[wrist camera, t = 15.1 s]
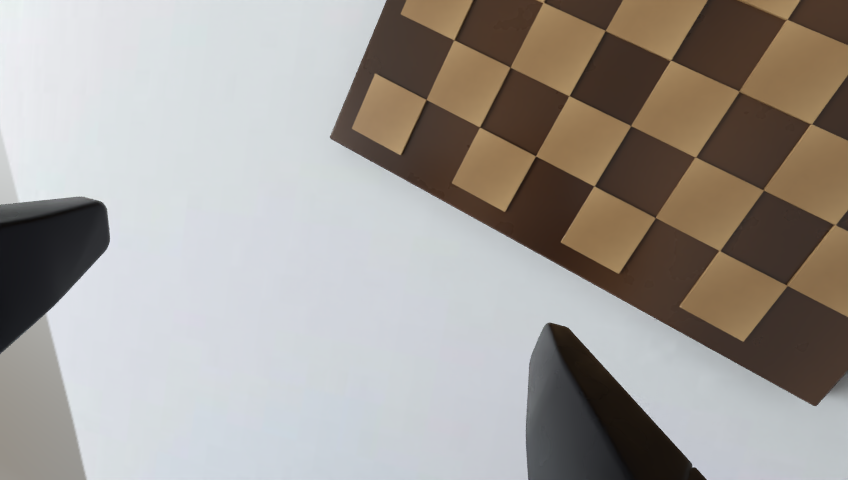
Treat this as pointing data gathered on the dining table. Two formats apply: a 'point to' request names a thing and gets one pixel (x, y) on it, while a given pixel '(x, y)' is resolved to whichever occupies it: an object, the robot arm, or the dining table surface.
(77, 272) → the robot arm
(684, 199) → the chessboard
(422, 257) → the dining table surface
